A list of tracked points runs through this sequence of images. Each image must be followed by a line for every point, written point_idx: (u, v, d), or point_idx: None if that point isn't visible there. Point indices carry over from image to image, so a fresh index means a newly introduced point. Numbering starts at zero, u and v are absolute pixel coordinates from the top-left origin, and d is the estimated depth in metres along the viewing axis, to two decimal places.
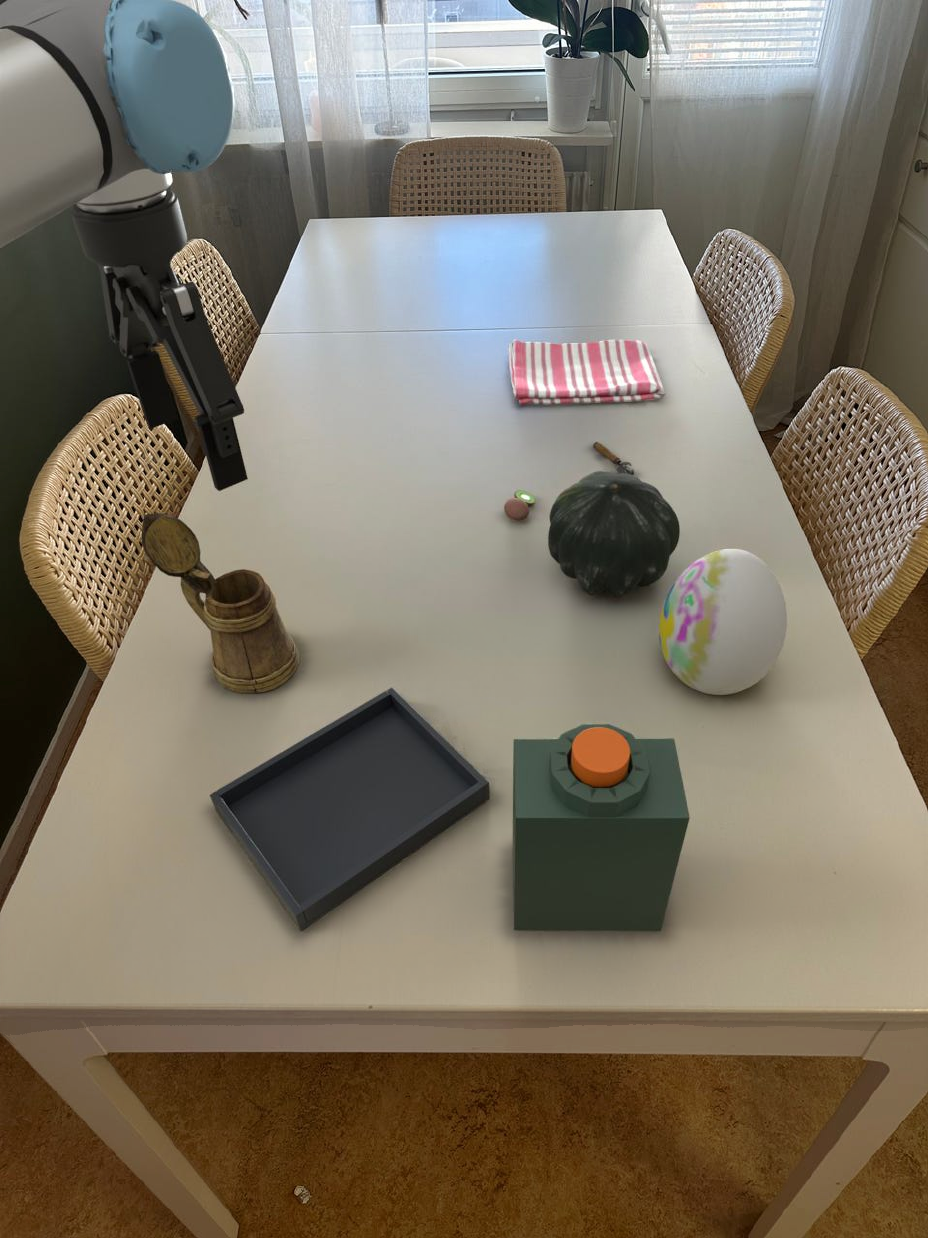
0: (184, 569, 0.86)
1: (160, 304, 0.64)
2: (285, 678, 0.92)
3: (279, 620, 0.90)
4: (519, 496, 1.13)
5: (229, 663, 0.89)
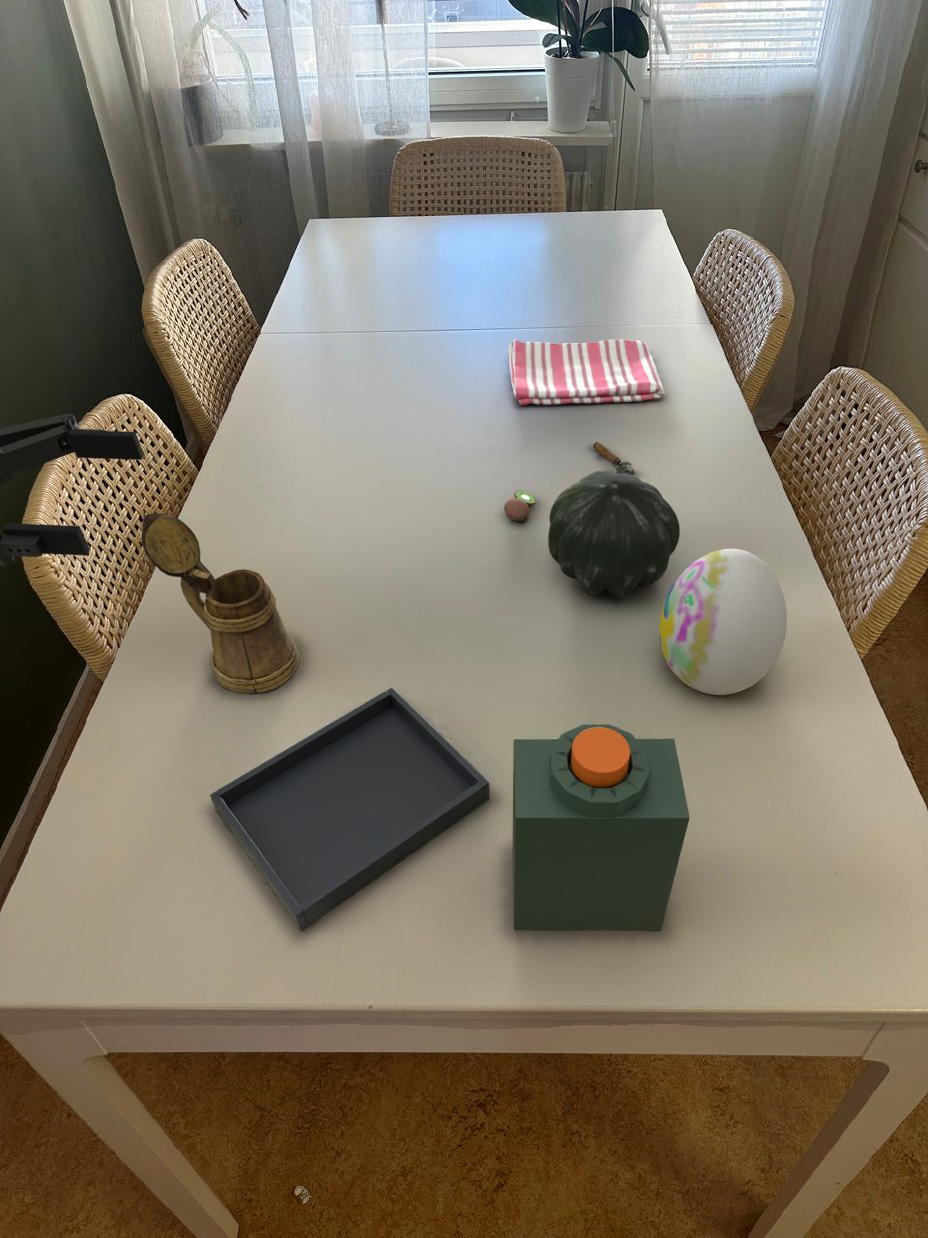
0: (184, 569, 0.86)
1: None
2: (285, 678, 0.92)
3: (279, 620, 0.90)
4: (519, 496, 1.13)
5: (229, 663, 0.89)
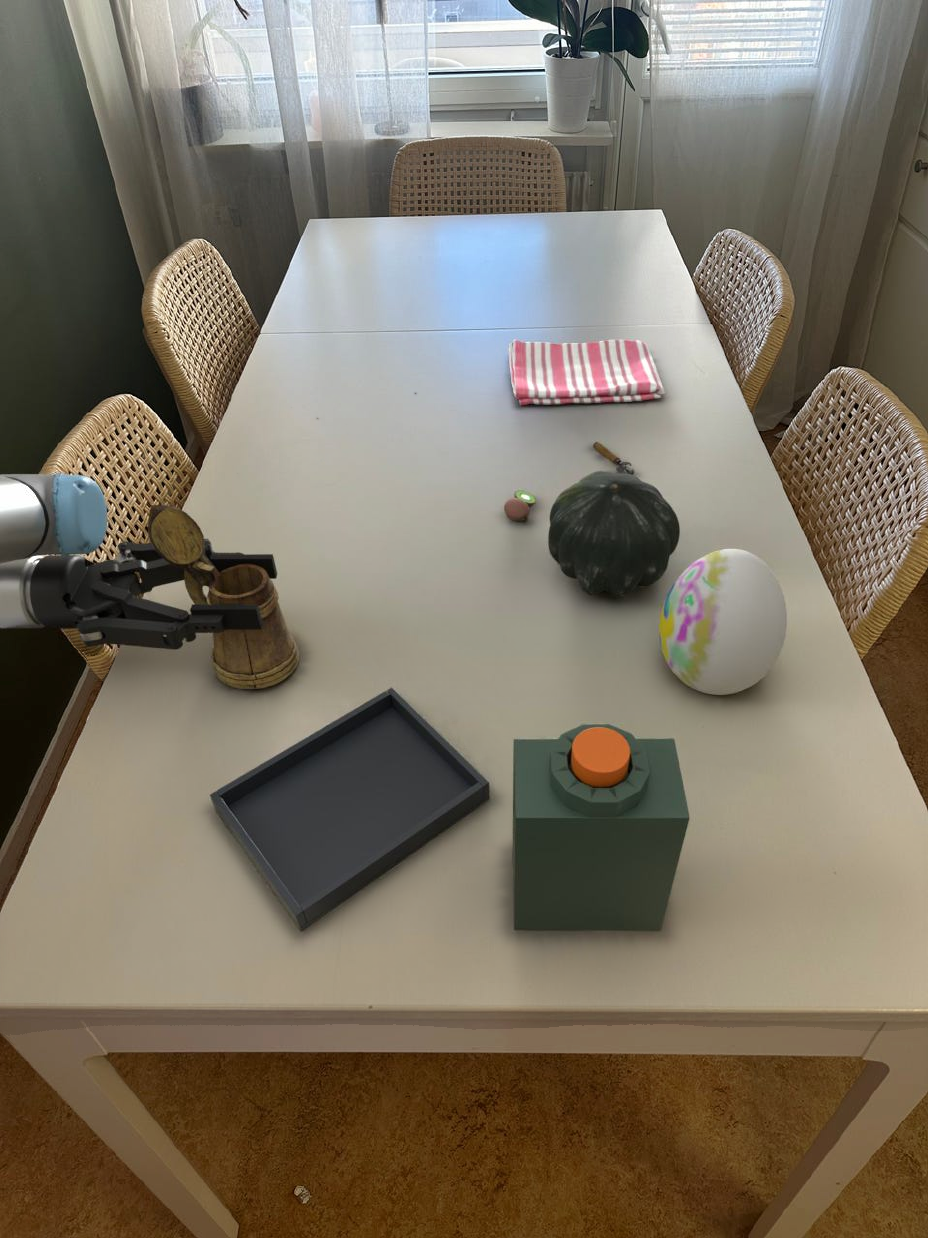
0: (188, 561, 0.87)
1: (119, 562, 0.91)
2: (285, 675, 0.92)
3: (281, 616, 0.90)
4: (519, 496, 1.13)
5: (229, 657, 0.89)
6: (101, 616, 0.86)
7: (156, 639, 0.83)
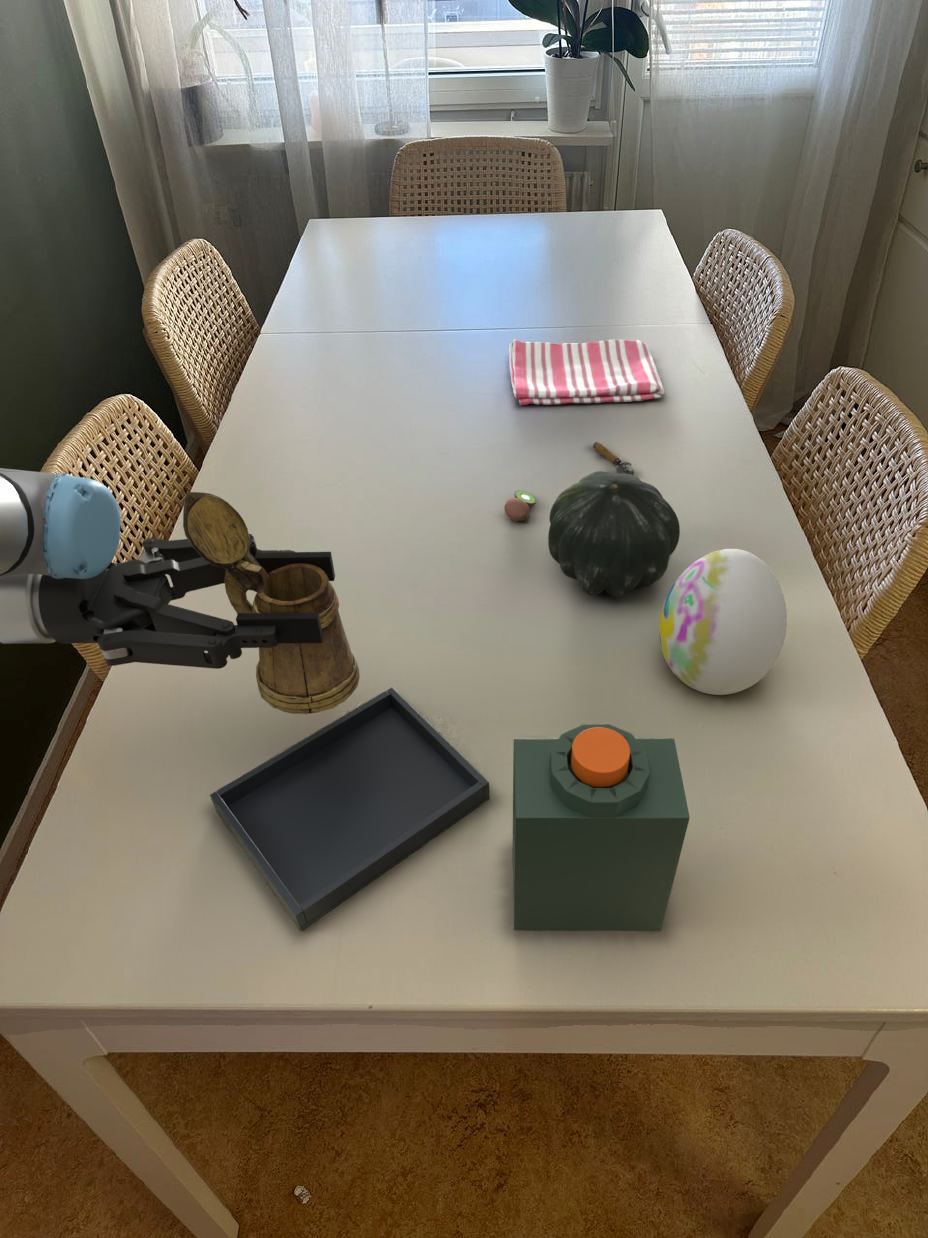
0: (232, 560, 0.71)
1: (144, 562, 0.75)
2: (345, 696, 0.77)
3: (341, 625, 0.75)
4: (519, 496, 1.13)
5: (280, 676, 0.74)
6: (125, 628, 0.71)
7: (195, 656, 0.68)
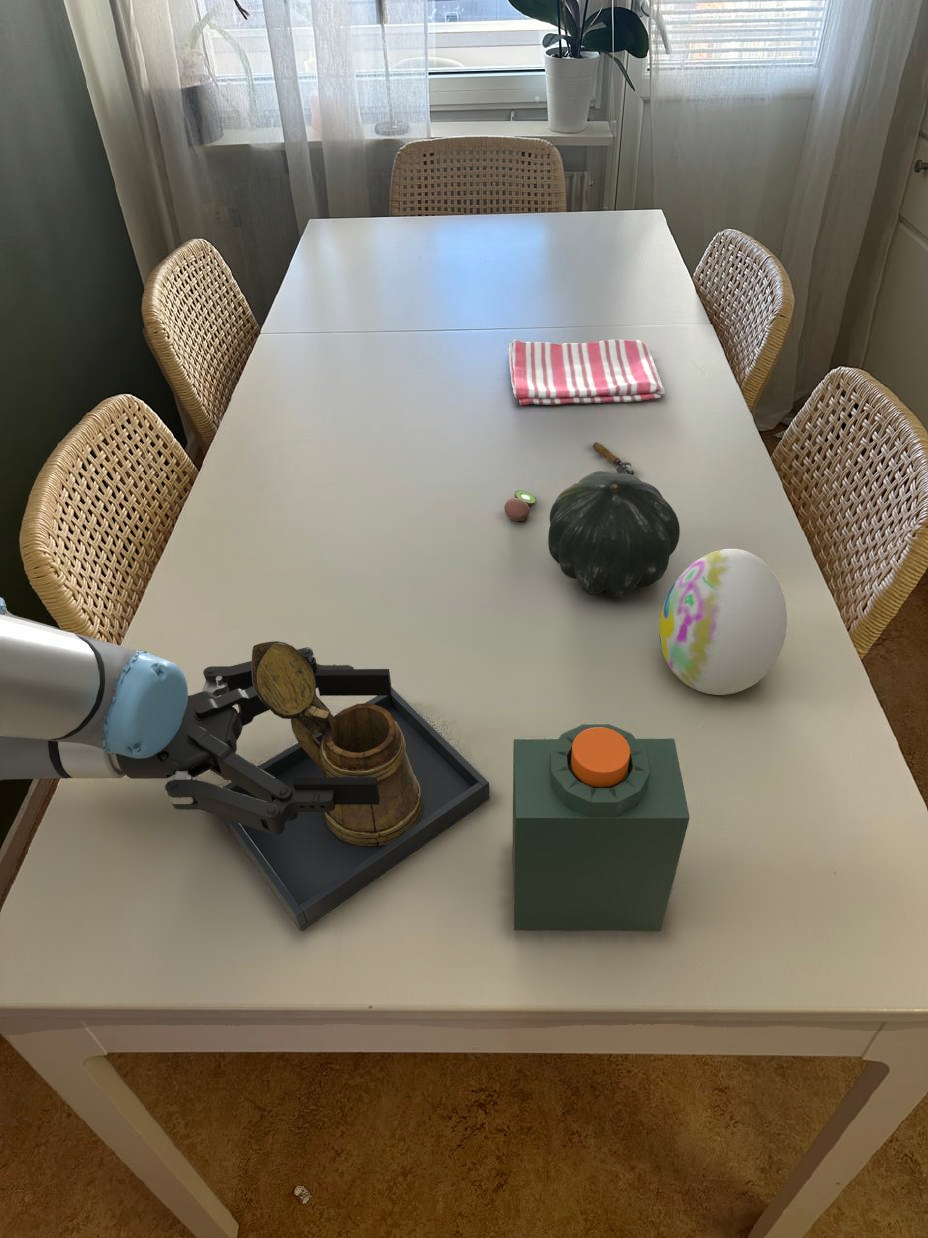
0: (300, 708, 0.71)
1: (214, 694, 0.76)
2: (411, 826, 0.77)
3: (407, 761, 0.76)
4: (519, 496, 1.13)
5: (349, 815, 0.75)
6: (199, 767, 0.72)
7: (253, 820, 0.67)
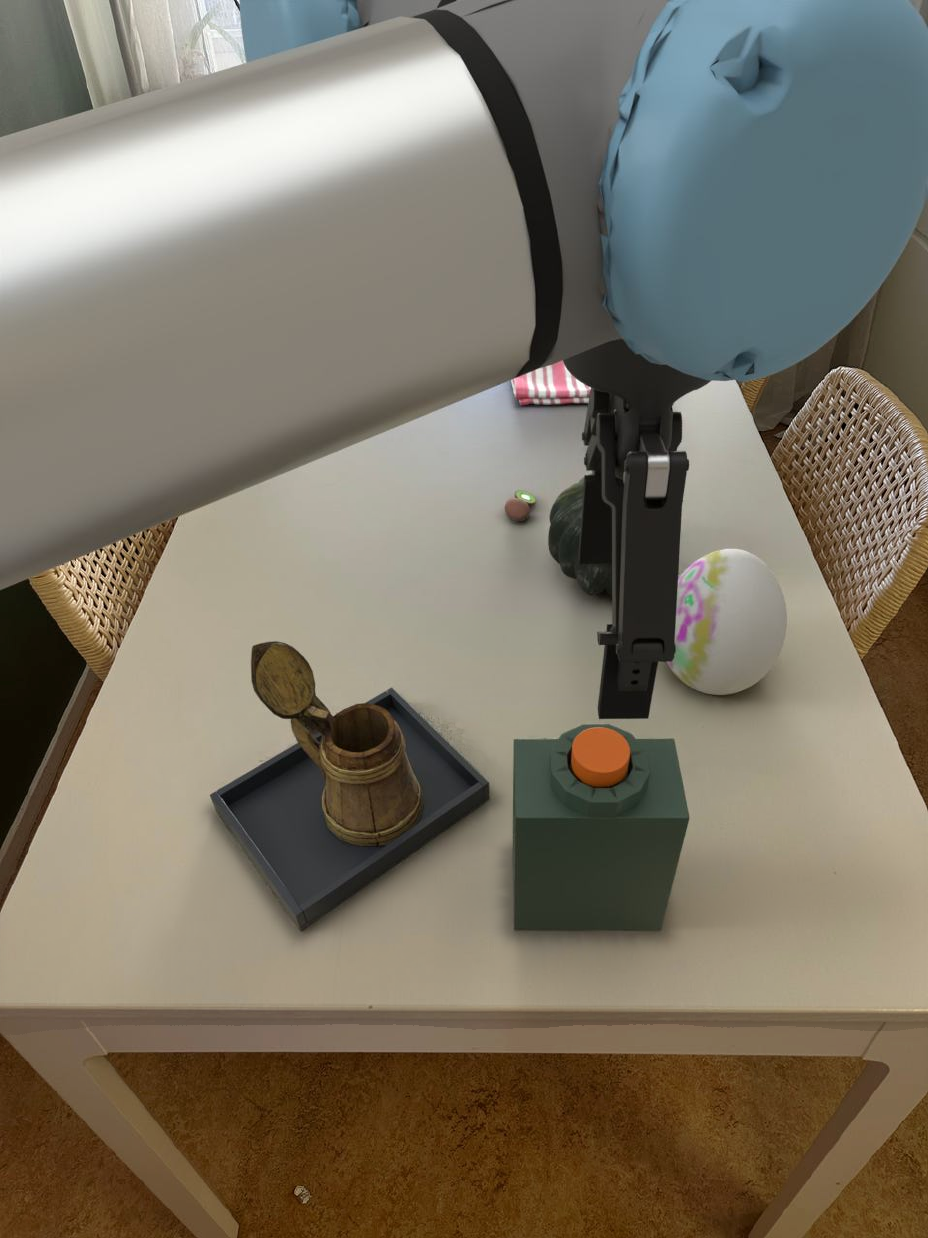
0: (299, 708, 0.71)
1: None
2: (411, 826, 0.77)
3: (406, 761, 0.76)
4: (519, 496, 1.13)
5: (349, 815, 0.75)
6: None
7: None
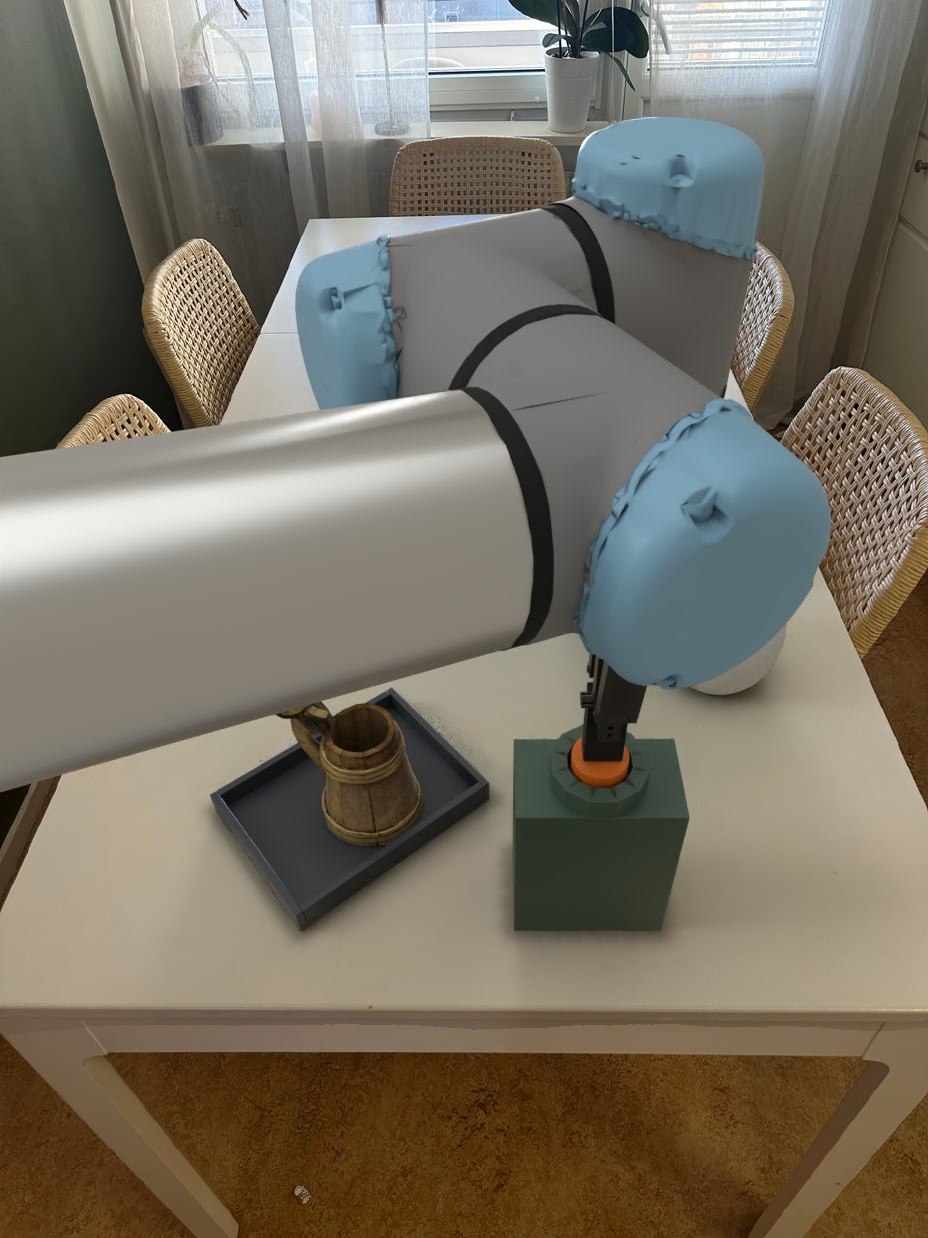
0: (299, 708, 0.71)
1: None
2: (411, 826, 0.77)
3: (407, 761, 0.76)
4: None
5: (349, 815, 0.75)
6: None
7: None
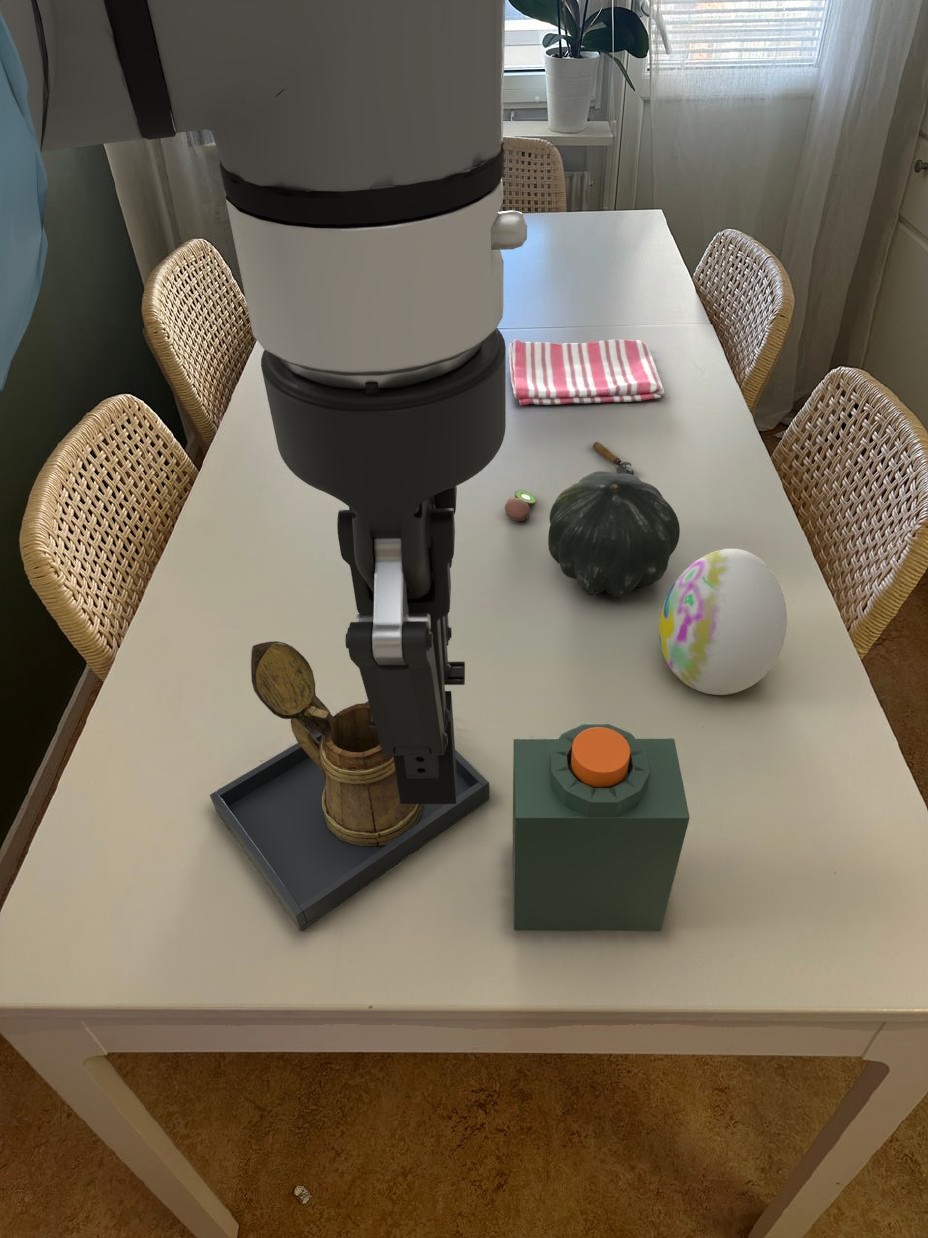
0: (299, 708, 0.71)
1: (368, 580, 0.28)
2: (411, 826, 0.77)
3: None
4: (519, 496, 1.13)
5: (349, 815, 0.75)
6: None
7: None
